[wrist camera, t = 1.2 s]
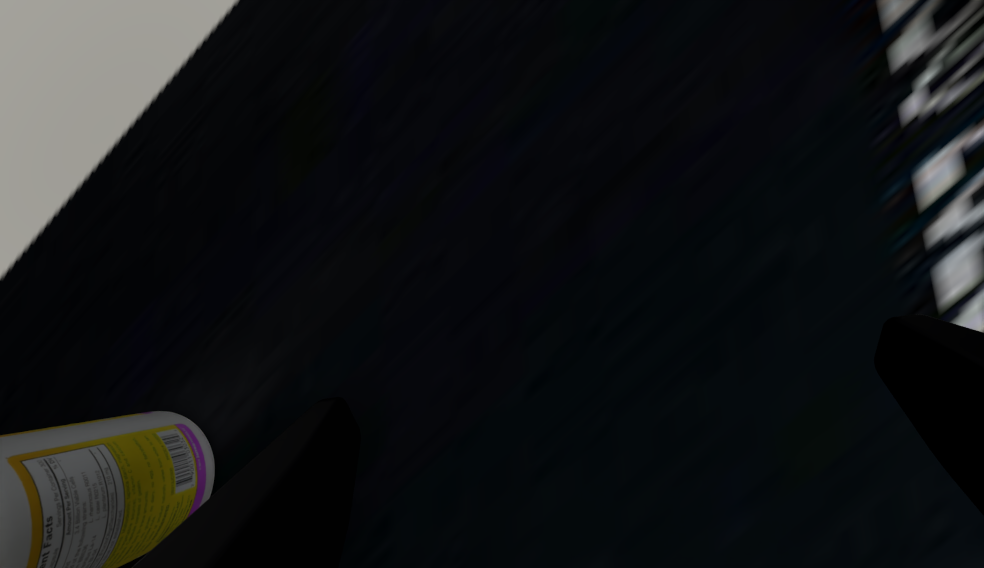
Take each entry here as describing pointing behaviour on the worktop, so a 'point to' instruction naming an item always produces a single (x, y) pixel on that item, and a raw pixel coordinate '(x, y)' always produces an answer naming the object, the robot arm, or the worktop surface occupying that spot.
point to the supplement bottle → (99, 489)
